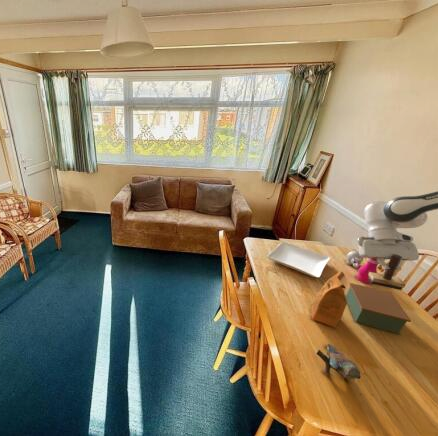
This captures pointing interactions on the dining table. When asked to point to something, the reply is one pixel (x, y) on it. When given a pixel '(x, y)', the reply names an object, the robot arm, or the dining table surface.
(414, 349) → the dining table surface
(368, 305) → the cabinet
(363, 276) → the pepper mill
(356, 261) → the round bodied animal figurine
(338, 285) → the coffee package
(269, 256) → the square plate
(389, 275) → the brush
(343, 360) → the bird figurine
